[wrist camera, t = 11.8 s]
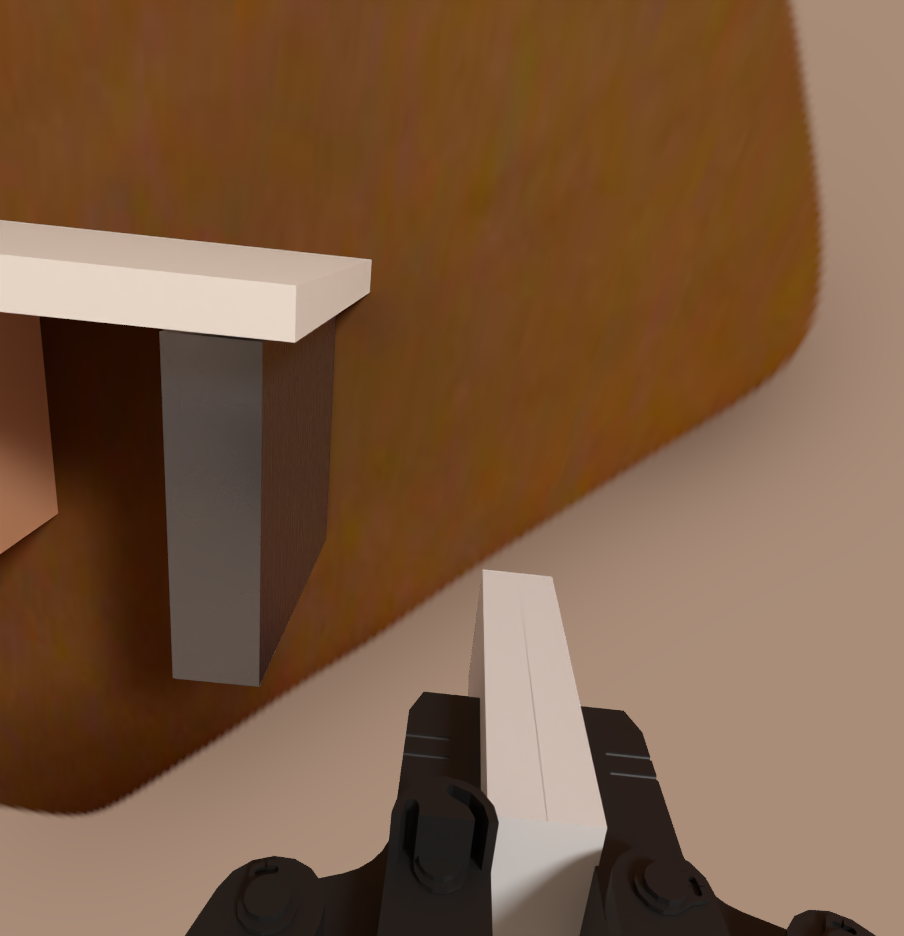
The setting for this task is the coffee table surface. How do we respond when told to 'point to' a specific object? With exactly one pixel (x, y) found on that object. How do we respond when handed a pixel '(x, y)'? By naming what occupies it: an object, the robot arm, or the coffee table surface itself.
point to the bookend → (242, 492)
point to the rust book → (24, 431)
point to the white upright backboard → (173, 282)
